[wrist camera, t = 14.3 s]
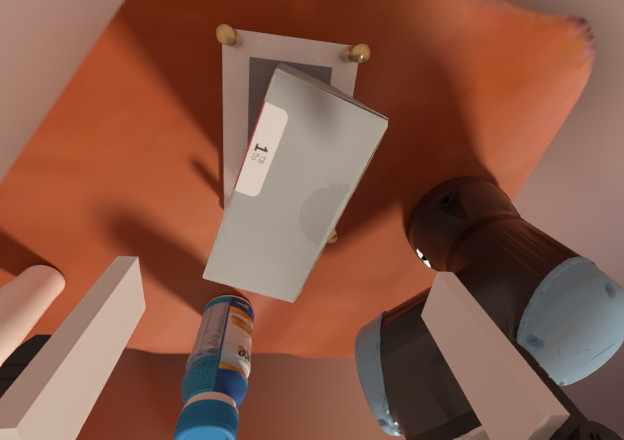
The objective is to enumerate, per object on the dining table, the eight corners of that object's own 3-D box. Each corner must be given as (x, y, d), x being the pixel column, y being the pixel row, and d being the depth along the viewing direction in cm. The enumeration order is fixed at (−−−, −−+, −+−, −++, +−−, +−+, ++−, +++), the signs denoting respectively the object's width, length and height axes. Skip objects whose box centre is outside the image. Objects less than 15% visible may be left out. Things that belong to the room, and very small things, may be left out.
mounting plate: (358, 47, 35) (376, 44, 29) (331, 218, 45) (339, 244, 39) (223, 28, 33) (210, 20, 27) (225, 212, 43) (216, 238, 37)
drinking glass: (21, 252, 43) (-94, 338, 30) (75, 266, 45) (-11, 353, 31) (18, 289, 46) (-88, 383, 32) (70, 300, 47) (-11, 394, 34)
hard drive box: (278, 59, 34) (278, 58, 16) (340, 89, 36) (399, 118, 18) (234, 183, 40) (200, 281, 22) (289, 203, 42) (298, 307, 24)
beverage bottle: (206, 289, 49) (164, 419, 31) (259, 295, 50) (249, 423, 33) (201, 327, 52) (161, 464, 35) (251, 333, 54) (237, 465, 36)
